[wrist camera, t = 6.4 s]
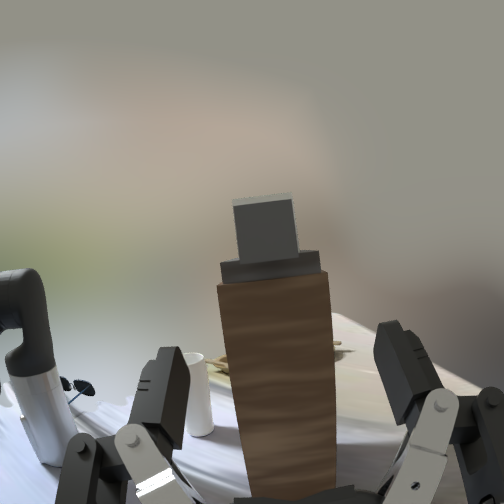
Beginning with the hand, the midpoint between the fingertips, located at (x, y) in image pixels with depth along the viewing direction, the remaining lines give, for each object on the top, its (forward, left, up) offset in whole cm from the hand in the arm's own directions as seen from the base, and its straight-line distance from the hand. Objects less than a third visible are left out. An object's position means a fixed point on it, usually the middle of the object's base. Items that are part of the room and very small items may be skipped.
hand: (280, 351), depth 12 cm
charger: (+8, +14, +3) cm, 17 cm away
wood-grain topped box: (+11, +20, -28) cm, 36 cm away
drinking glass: (+4, +40, -28) cm, 49 cm away
